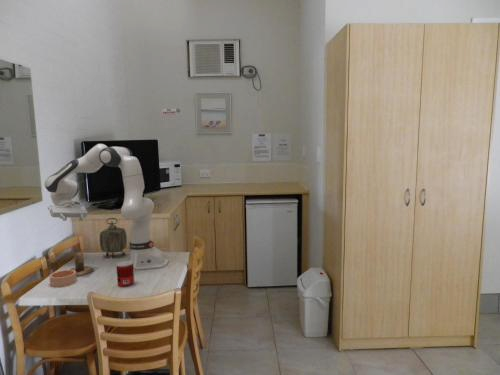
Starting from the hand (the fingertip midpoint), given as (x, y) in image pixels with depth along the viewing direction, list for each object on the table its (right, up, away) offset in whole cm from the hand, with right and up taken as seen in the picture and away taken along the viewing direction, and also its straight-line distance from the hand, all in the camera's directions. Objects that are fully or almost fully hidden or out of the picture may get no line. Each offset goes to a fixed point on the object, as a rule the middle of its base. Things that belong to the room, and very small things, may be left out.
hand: (73, 219), depth 207 cm
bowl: (+5, -31, -21) cm, 38 cm away
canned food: (+38, -31, -24) cm, 55 cm away
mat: (+7, -29, -6) cm, 30 cm away
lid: (+7, -29, -6) cm, 30 cm away
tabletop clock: (+15, -26, +23) cm, 37 cm away
